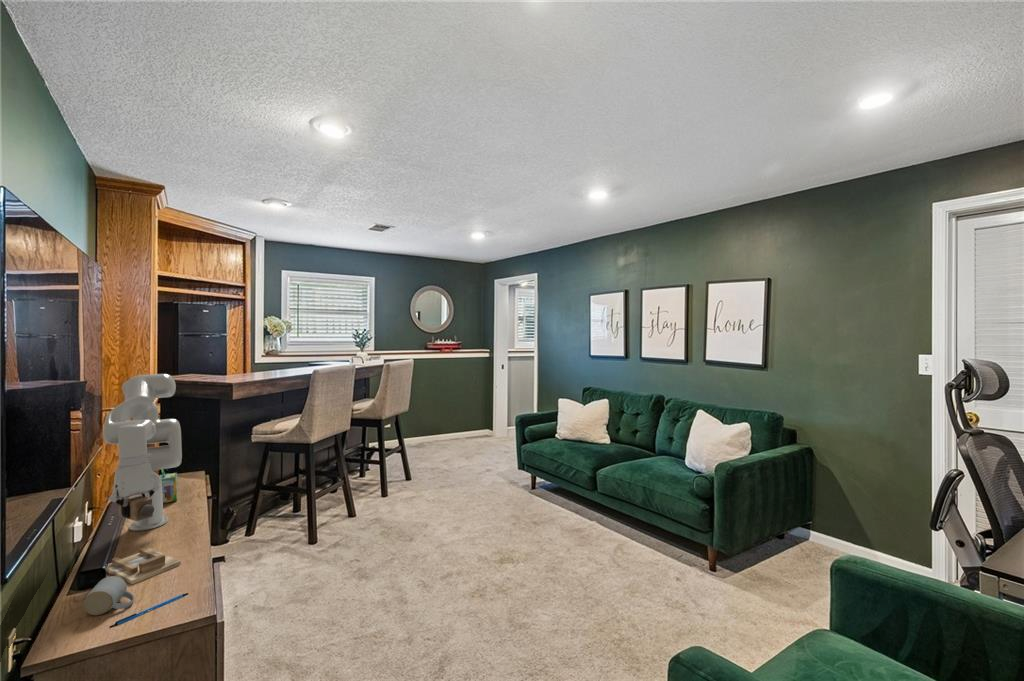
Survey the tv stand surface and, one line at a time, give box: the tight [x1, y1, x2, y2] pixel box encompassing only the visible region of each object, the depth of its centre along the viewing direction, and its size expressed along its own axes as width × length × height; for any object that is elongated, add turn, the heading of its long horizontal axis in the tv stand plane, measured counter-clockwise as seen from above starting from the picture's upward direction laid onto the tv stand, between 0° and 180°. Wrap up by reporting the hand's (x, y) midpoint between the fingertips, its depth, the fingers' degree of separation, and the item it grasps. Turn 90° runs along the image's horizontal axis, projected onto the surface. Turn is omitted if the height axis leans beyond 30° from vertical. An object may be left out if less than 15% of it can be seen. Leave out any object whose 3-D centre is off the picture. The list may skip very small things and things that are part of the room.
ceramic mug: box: [82, 575, 135, 616], centre depth 137 cm, size 11×8×8 cm
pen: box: [109, 592, 189, 628], centre depth 136 cm, size 1×19×1 cm, turn 147°
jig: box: [107, 547, 182, 585], centre depth 160 cm, size 20×14×4 cm
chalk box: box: [158, 469, 179, 504], centre depth 223 cm, size 9×9×15 cm
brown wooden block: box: [116, 495, 154, 522], centre depth 161 cm, size 14×4×6 cm, turn 64°
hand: (135, 513), depth 161 cm, fingers closed on brown wooden block, 4 cm apart
